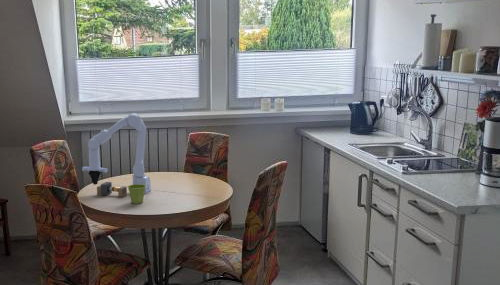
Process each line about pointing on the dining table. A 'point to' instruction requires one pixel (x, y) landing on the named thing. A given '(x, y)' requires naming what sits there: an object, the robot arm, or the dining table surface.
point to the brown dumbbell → (114, 190)
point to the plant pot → (136, 193)
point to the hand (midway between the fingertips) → (95, 184)
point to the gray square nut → (105, 188)
